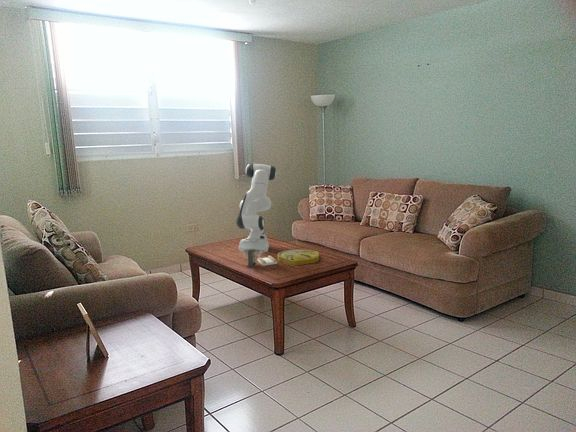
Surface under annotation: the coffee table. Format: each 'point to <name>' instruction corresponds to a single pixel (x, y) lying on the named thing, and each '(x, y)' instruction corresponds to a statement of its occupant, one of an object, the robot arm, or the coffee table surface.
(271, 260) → the display stand
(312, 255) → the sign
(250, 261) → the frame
